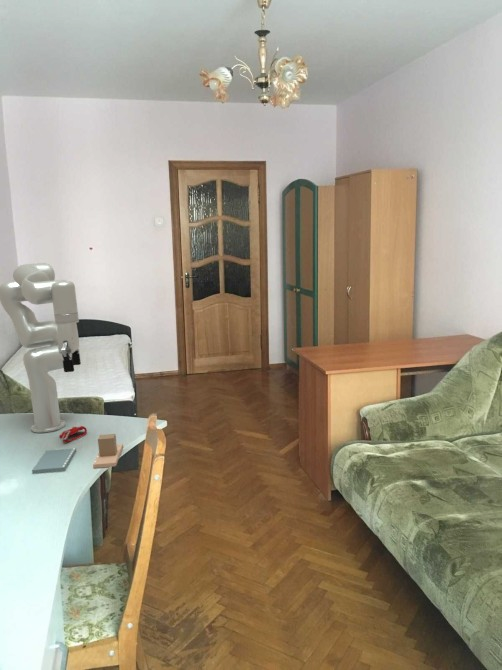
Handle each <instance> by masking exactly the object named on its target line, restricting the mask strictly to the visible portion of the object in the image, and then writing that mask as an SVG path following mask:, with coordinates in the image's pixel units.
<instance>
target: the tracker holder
mask: <svg viewBox="0 0 502 670" xmlns="http://www.w3.org/2000/svg"><path fill="white" fill-rule="evenodd" d="M83 430H84V433H82V434H80V435H77V436H75V437H73V438H71V439H68V438H70V436H72V435H74V434H76V433H79V432H80V431H83ZM87 433H88V429H87V428H86V426H83V425H78V426H72V427H69V428H67V429H65V430H64V431H62V433H61V434H60V435H59V436H58V437H59V438H60V442H63V443H70V442H73V441H75V440H77V439H79V438H82V437H84V436H86V434H87Z"/></svg>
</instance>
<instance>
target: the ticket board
mask: <svg viewBox="0 0 502 670" xmlns="http://www.w3.org/2000/svg"><path fill="white" fill-rule="evenodd" d="M76 453H77V448H76V447H73V448H62V449H59V448H58V449H50V450H49V449H48V450H45V451H44V453H43V454H42V456H41V457H40V458H39V460H38V461H37V462H36V464H35V465H34V467H33V468H32V470H31V473H32V475H34V473H36V474H46V473H48V474H49V473H58V472H65V471H66V470H67V469H68V467H69V465H70V463H71V461H72V460H73V458H74V457H75V455H76Z"/></svg>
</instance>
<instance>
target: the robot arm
mask: <svg viewBox="0 0 502 670" xmlns="http://www.w3.org/2000/svg"><path fill="white" fill-rule="evenodd" d="M12 279H13V280H9V281H5V282H3V283H1V284H0V304H1V306H2V308H3V310H4V311H5V312H6V313H7V315H8V316H9V318H10V319H11V322H12V323H13V326H14V329H15V333H16V335H17V337H18V340H19V342H20V344H21V346H22V347H23V348H24V349H25V348H26V349H29V350H27V351H25V353H24V354H23V358H22V359H23V365H24V369H25V372H26V374H27V378H28V385H29V390H30V398H31V406H32V412H33V413H32V414H33V420H34V422H33V423H34V424H32V425H31V426H30V430H31V432H33V433H40V434H42V433H43V434H44V433H51V432H54V431H58V430H61V429H62V428H64V427H65V426H66V421H65V420H64V419H61V412H60V405H59V397H58V389H57V382H56V380H55V379H54V377H52V375H50V374H49V372H51V371H52V372H53V371H56V370H61V369H63V373H72V372H74V371H75V366H81V356H80V349H79V348H80V338H79V331H78V325H77V323H79V322H80V319H79V310H78V303H77V295H76V294H77V293H76V287H75V283H74V282H73V281H67V280H66V279H56V273H55V270H54V268H53V267H52V265H50V264H49V263H46V262H40V263H39V262H38V263H26V264H22V265H21V264H20V265H18V266H16V268H15V269H14V270H13V273H12ZM23 302H29V303H30V304H32V305H45V304H46V305H47V304H52V307H53V314H54V320H46V321H38V320H37V317H36V315H35V312H34V311H33V310H32V309H30V307H28V306H26V305H25V304H23Z"/></svg>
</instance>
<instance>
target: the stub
mask: <svg viewBox="0 0 502 670" xmlns="http://www.w3.org/2000/svg"><path fill="white" fill-rule="evenodd" d="M116 437H117V436H116V433H110V434H109V433H108V434H107V433H106V434H99V436H98V438H97V446H98V453H97V455H96V457H95V460H94V462H93V464H92V467H93V469H100V468H110V467H111V468H112V467H116V466H117V464H118V462H119V459H120V456H121V454H122V451H123V448H124V444H123V443H118V444H117V438H116Z"/></svg>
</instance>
